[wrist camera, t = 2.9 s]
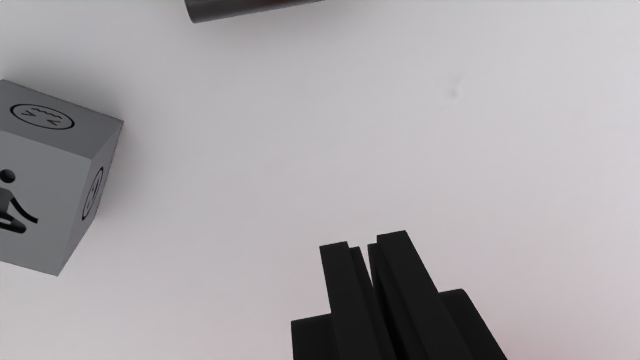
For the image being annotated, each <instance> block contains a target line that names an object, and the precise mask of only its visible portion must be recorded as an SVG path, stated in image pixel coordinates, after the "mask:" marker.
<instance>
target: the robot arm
mask: <svg viewBox="0 0 640 360" xmlns="http://www.w3.org/2000/svg"><path fill="white" fill-rule="evenodd" d="M367 247H368V255H369V262H370V269H371V276H372V283H373V286H372V283H371V280H370V277H369V274H368V271H367V268H366V265H365V262H364V259H363V256H362V253H361V250H360V247H359V246H358V247H353V248H349V247H348V243H347V241H344V242H339V243H334V244H328V245H323V246H319V248H320V254H321V259H322V265H323V270H324V275H325V281H326V286H327V292H328V297H329V303H330V308H331V313H330V314H325V315H320V316H314V317H309V318H304V319H299V320H294V321H291V333H292V346H293V360H507V358H506V357H505V355H504V353H503V352H502V350H501V349H500V347H499V345H498V344H497V342H496V340H495V339H494V337H493V336H492V334H491V332H490V331H489V329H488V327H487V326H486V324H485V322H484V321H483V319H482V318H481V316H480V314H479V313H478V311H477V309H476V308H475V306H474V305H473V303H472V301H471V300H470V298H469V296H468V295H467V293H466V292H465V291H464V290H463V289H455V290H450V291H445V292H440V293H438V291H437V289H436V287H435V285H434V283H433V281H432V279H431V277H430V276H429V274H428V272H427V270H426V268H425V266H424V264H423V262H422V260H421V259H420V257H419V255H418V253H417V251H416V249H415V247H414V245H413V244H412V242H411V240H410V238H409V236H408V234H407V232H406V231H405V230H403V231H397V232H392V233H387V234H381V235H377V243H374V244H369V245H368V246H367Z"/></svg>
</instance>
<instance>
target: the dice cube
mask: <svg viewBox="0 0 640 360" xmlns="http://www.w3.org/2000/svg"><path fill="white" fill-rule="evenodd" d="M123 122H124V121H121V120H118V119H115V118H113V117H110V116H107V115H104V114H101V113H98V112H95V111H92V110H89V109H87V108H84V107H81V106H78V105H75V104H72V103H69V102H66V101H63V100H61V99H58V98H55V97H52V96H49V95H46V94H43V93H40V92H37V91H35V90H32V89H29V88H26V87H23V86H20V85H17V84H14V83H11V82H9V81H6V80H3V79H2V80H0V261H3V262H6V263H10V264H14V265H18V266H21V267H25V268H29V269H32V270H36V271H40V272H43V273H47V274H51V275H54V276H58V275H59V274H60V272H61V271H62V269H63V267H64V266H65V264H66V263H67V261H68V259H69V258H70V256H71V255H72V253H73V252H74V250H75V248H76V247H77V245H78V244H79V242H80V240H81V239H82V237H83V236H84V234H85V233H86V231H87V229H88V228H89V226H90V225H91V223H92V221H93V220H94V217H95V214H96V211H97V208H98V204H99V201H100V198H101V194H102V191H103V188H104V185H105V181H106V178H107V175H108V171H109V168H110V165H111V161H112V158H113V155H114V152H115V148H116V145H117V142H118V138H119V135H120V132H121V129H122V125H123Z"/></svg>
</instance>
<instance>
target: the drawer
mask: <svg viewBox="0 0 640 360" xmlns="http://www.w3.org/2000/svg"><path fill="white" fill-rule="evenodd" d="M319 1H324V0H185V4H186V8H187V11H188V14H189V17H190V19H191V21H192V22H193V23H200V22H206V21H211V20H217V19H223V18H228V17H234V16H240V15H245V14H251V13H257V12H262V11H268V10H274V9H279V8H285V7H291V6H296V5H302V4H307V3H313V2H319Z"/></svg>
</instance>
